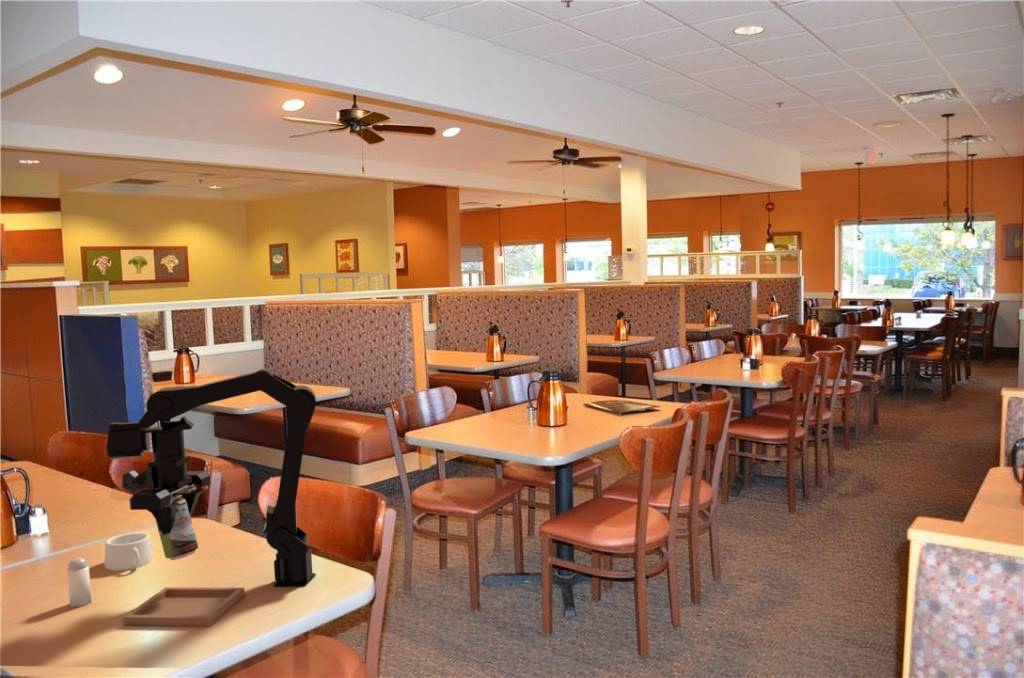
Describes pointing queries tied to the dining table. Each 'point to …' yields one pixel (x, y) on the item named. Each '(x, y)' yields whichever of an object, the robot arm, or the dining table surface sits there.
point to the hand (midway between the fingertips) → (175, 533)
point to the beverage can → (179, 533)
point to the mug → (128, 551)
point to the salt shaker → (79, 582)
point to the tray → (184, 607)
